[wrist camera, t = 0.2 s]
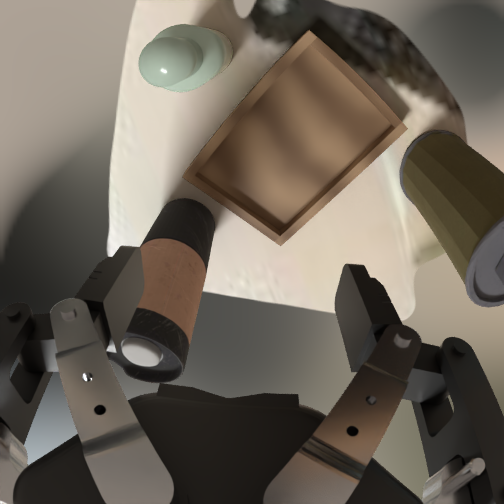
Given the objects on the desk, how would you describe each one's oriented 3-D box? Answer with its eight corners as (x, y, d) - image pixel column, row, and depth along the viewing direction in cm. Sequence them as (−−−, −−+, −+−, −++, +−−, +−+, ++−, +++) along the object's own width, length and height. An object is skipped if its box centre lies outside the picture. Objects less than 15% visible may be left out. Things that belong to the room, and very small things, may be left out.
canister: (387, 198, 36) (456, 329, 20) (414, 118, 29) (530, 212, 13) (454, 215, 36) (529, 330, 20) (483, 146, 30) (590, 241, 14)
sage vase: (201, 19, 25) (155, 7, 13) (243, 48, 26) (225, 51, 15) (171, 59, 27) (109, 76, 16) (211, 86, 29) (173, 118, 18)
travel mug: (221, 201, 37) (186, 342, 21) (214, 252, 42) (185, 390, 26) (158, 191, 37) (86, 320, 21) (157, 242, 41) (104, 372, 25)
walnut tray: (306, 30, 25) (309, 30, 23) (400, 123, 30) (407, 128, 28) (186, 169, 35) (182, 177, 33) (280, 236, 40) (280, 246, 38)
